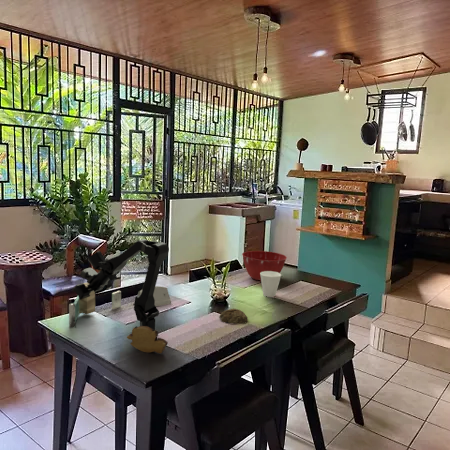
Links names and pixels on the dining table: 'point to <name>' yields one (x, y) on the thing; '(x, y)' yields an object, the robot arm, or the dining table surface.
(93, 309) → the block
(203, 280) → the dining table surface
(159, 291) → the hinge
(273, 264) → the mixing bowl
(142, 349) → the wooden carving
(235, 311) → the brown dome mound
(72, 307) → the frame
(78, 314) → the green upright panel
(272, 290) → the cup
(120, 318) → the dining table surface
